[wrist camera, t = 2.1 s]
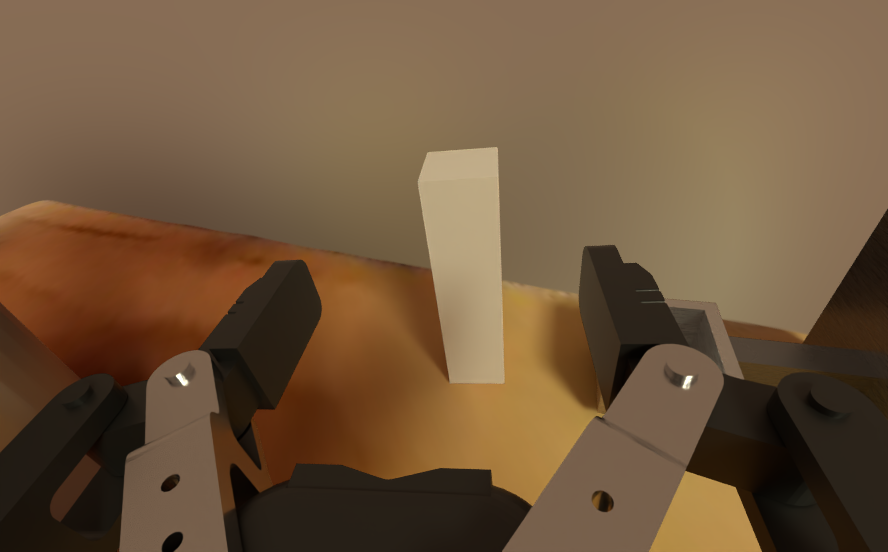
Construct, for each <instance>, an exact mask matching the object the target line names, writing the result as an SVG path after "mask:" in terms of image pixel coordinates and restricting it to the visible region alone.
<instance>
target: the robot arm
mask: <svg viewBox="0 0 888 552" xmlns="http://www.w3.org/2000/svg"><path fill="white" fill-rule="evenodd" d="M579 308H580V314H581V318H582V321H583V325H584V329H585V333H586V337H587V341H588V345H589V348H590V352H591V356H592V360H593V364H594V368H595V371H596V375H597V379H598V383H599V387H600V391H601V395H602V398H603V402H604V406H605V410H606V413H605V415H604V416H603V417H602V418H600V417H599V416H596V417H595V418H593V420H592V421H591V422H590V423H589V424H588V426H587V427H586V429H585V430H584V431H583V433H582V434H581V436H580V437H579V439H578V440H577V442H576V443H575V445H574V446H573V448H572V449H571V451H570V452H569V454H568V455H567V457H566V458H565V459H564V461H563V462H562V464H561V465H560V467H559V468H558V470H557V471H556V473H555V474H554V476H553V477H552V479H551V480H550V482H549V483H548V484H547V486H546V487H545V489H544V490H543V492H542V493H541V495H540V496H539V498H538V499H537V501H536V502H535V504H534V505H533V506H531V505H530V504H529V503H528V502H526V501H525V500H523V499H522V498H520V497H518V496H517V495H515V494H513V493H511V492H509V491H507V490H505V489H502V488H499V487H496V486H493V485H492V475H491V470H481V469H450V468H439V469H435V470H430V471H426V472H422V473H417V474H413V475H408V476H404V477H400V478H395V479H390V480H387V479H382V478H379V477H376V476H373V475H370V474H367V473H364V472H361V471H358V470H355V469H352V468H349V467H346V466H343V465H326V464H296V466H295V469H294V471H293V474H292V476H291V479H290V480H288V481H285V482H282V483H279V484H276V485H274V486H273V484H272V482H271V479H270V476H269V472H268V468H267V464H266V460H265V456H264V452H263V448H262V444H261V440H260V437H259V433H258V429H257V425H256V422H255V421H254V419H253V418H252V417H253V415H254V413H255V412H256V410H257V409H275V408H276V406H277V404H278V402H279V400H280V398H281V396H282V394H283V392H284V390H285V388H286V386H287V384H288V382H289V380H290V378H291V376H292V374H293V372H294V370H295V368H296V366H297V364H298V362H299V360H300V358H301V356H302V354H303V352H304V350H305V348H306V346H307V344H308V342H309V340H310V338H311V336H312V334H313V332H314V330H315V328H316V326H317V324H318V322H319V320H320V317H321V311H322V306H321V300H320V297H319V295H318V292H317V290H316V287H315V285H314V282H313V280H312V277H311V275H310V272H309V270H308V267H307V265H306V263H305V262H304V261H303V260H285V261H275V262H274V263H273V264H272V265H271V267H270V268H269V269H268V271H267V272H266V273H265V275H264V276H263V277H262V278H260V279H258V280H257V281H256V282H254V283H253V284H252V285H250V286H249V287H248V288H246V289H245V290H244V292H243V293H242V294H241V296H240V297H239V298H238V299H237V301H236V304H233V306H232V307H231V308H230V310H229V311H228V315H225V316H224V317H223V319H222V320H221V321H220V322H219V324H218V325H217V326H216V328H215V329H214V330H213V331H212V333H211V334H210V335H209V337H208V338H207V339H206V340H205V342H204V343H203V344H202V346H201V347H200V348H199V349H198V350H193V351H188V352H184V353H182V354H179V355H177V356H175V357H173V358H171V359H169V360H167V361H166V362H165V363H163V364H162V365H161V366H160V367H158V368H157V369H156V370H155V371H154V373H153V374H152V375H151V376H150V378H149V380H145V381H142V382H138V383H134V384H130V385H126V386H121V385H120V384H119V383H118V382H117V381H116V380H115V379H114V378H113V377H112V376H111V375H109V374H95V375H91V376H88V377H85V378H83V379H80V378H79V377H78V376H77V375H76V374H75V373H74V372H73V371H72V370H71V369H70V368H69V367H68V366H66V365H65V364H64V363H63V362H62V361H61V360H60V359H59V358H58V357H57V356H56V355H55V354H54V353H53V352H52V351H51V350H50V349H49V348H48V347H47V346H46V345H44V344H43V343H42V342H41V341H40V340H39V339H38V338H37V337H36V336H35V335H34V334H33V333H32V332H31V331H30V330H29V329H28V328H27V327H26V326H25V325H23V324H22V323H21V322H20V321H19V320H18V319H17V318H16V317H15V316H14V315H13V314H12V313H11V312H10V311H9V310H8V309H7V308H6V307H5V306H4V305H3V304H1V303H0V552H116V551H117V550H118V548H119V546H120V549H119V552H649V550H650V548H651V546H652V543H653V541H654V539H655V537H656V535H657V532H658V530H659V528H660V526H661V523H662V521H663V519H664V517H665V515H666V512H667V510H668V508H669V506H670V504H671V501H672V499H673V497H674V495H675V493H676V490H677V488H678V486H679V484H680V481H681V479H682V477H683V475H684V473H685V471H687V472H690V473H694V474H697V475H700V476H703V477H706V478H709V479H712V480H715V481H718V482H722V483H725V484H728V485H731V486H734V487H736V489H737V492H738V494H739V496H740V499H741V501H742V504H743V506H744V509H745V511H746V514H747V516H748V518H749V521H750V523H751V526H752V528H753V531H754V533H755V536H756V538H757V540H758V543H759V545H760V548H761V550H762V552H888V420H887V419H886V418H885V416H884V415H883V414H882V413H881V411H880V410H879V409H878V408H877V407H876V405H875V404H874V403H873V402H872V401H871V400H870V399H869V398H867V397H866V396H865V395H864V394H862V393H861V392H860V391H858V390H857V389H855V388H853V387H852V386H850V385H848V384H846V383H844V382H842V381H840V380H837V379H834V378H832V377H829V376H825V375H822V374H816V373H809V372H798V373H792V374H789V375H787V376H785V377H784V378H782V379H781V381H780V382H779V384H778V385H777V387H775V386H770V385H766V384H762V383H757V382H753V381H748V380H744V379H740V378H736V377H732V376H729V375H727V374H724V373H722V372H721V370H720V368H719V367H718V366H717V365H716V363H715V362H714V361H713V360H712V359H710V358H709V357H708V356H706V355H705V354H703V353H701V352H700V351H697V350H695V349H693V348H690V346H689V344H688V342H687V341H686V339H685V337H684V335H683V333H682V331H681V329H680V327H679V325H678V324H677V322H676V320H675V318H674V316H673V314H672V312H671V310H670V309H669V307H668V305H667V303H665V299H664V297H663V295H662V293H661V292H660V291H659V288H658V286H657V284H656V282H655V280H654V279H653V276H652V275H651V274H650V273H649V272H648V271H646V270H645V269H644V268H642V267H641V266H640V265H639V264H637V263H623V261H622V259H621V257H620V255H619V252H618V250H617V248H616V247H615V245H605V246H585V247H584V250H583V256H582V266H581V277H580V286H579Z"/></svg>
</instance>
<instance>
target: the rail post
mask: <svg viewBox="0 0 888 552" xmlns="http://www.w3.org/2000/svg"><path fill="white" fill-rule="evenodd" d="M498 178H499V176H498V148H497V147H492V148H479V149H466V150H452V151H439V152H428V153H427V156H426V159H425V162H424V165H423V168H422V171H421V174H420V177H419V180H418V187H419V193H420V200H421V206H422V212H423V219H424V225H425V231H426V237H427V243H428V250H429V255H430V262H431V268H432V275H433V281H434V287H435V293H436V300H437V306H438V312H439V318H440V324H441V331H442V337H443V343H444V349H445V356H446V362H447V368H448V374H449V381H450V383H486V384H505V383H504V349H503V314H502V280H501V248H500V247H501V245H500V211H499V179H498Z"/></svg>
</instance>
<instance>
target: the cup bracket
mask: <svg viewBox="0 0 888 552" xmlns="http://www.w3.org/2000/svg"><path fill="white" fill-rule="evenodd" d="M665 303H667V305H668V307H669V309H670V310H671V312H672V314H673V316H674V318H675V320H676V322H677V324H678V325H679V327H680V329H681V331H682V333H683V335H684V337H685V339H686V341H687V342H688V344H689V346H690V348H693V349H695V350H697V351H700V352H701V353H703V354H705V355H706V356H708V357H709V358H710V359H712V360H713V361H714V362H715V363H716V365H717V366H718V367H719V368H720V370H721V372H722V373H724V374H727V375H729V376H732V377H736V378H740V379H744V380H748V381H753V382H757V383H762V384H766V385H770V386H775V387H777V385H778V384H779V382H780V381H781V379H782V378H784V377H785V376H787V375H789V374H792V373H798V372H809V373H816V374H822V375H825V376H829V377H832V378H834V379H837V380H840V381H842V382H844V383H846V384H848V385H850V386H852V387H853V388H855V389H857V390H858V391H860V392H861V393H862V394H864V395H865V396H866V397H867V398H869V399H870V400H871V401H872V402H873V403H874V404H875V405H876V407H877V408H878V409H879V410H880V411H881V413H882V414H883V415H884V416H885V418H886V419H887V420H888V209H887V211H886V212H885V214H884V215H883V217H882V218H881V220H880V222H879V223H878V225H877V227H876V228H875V230H874V231H873V233H872V234H871V236H870V237H869V239H868V241H867V242H866V244H865V245H864V247H863V249H862V250H861V252H860V253H859V255H858V256H857V258H856V260H855V261H854V263H853V265H852V266H851V268H850V269H849V271H848V272H847V274H846V275H845V277H844V279H843V280H842V282H841V284H840V285H839V287H838V288H837V290H836V291H835V293H834V295H833V296H832V298H831V299H830V301H829V303H828V304H827V306H826V307H825V309H824V310H823V312H822V314H821V315H820V317H819V318H818V320H817V322H816V323H815V325H814V326H813V328H812V329H811V331H810V332H809V334H808V336H807V337H806V339H805V340H804V342H803V344H798V343H788V342H779V341H769V340H759V339H750V338H740V337H730V336H728V334H727V331H726V329H725V326H724V323H723V321H722V318H721V315H720V313H719V310H718V308H717V305H716V303H710V302H698V301H687V300H674V299H665ZM596 381H597V413H604V414H605V413H606V410H605V406H604V402H603V398H602V395H601V391H600V387H599V383H598V379H597V375H596Z"/></svg>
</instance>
